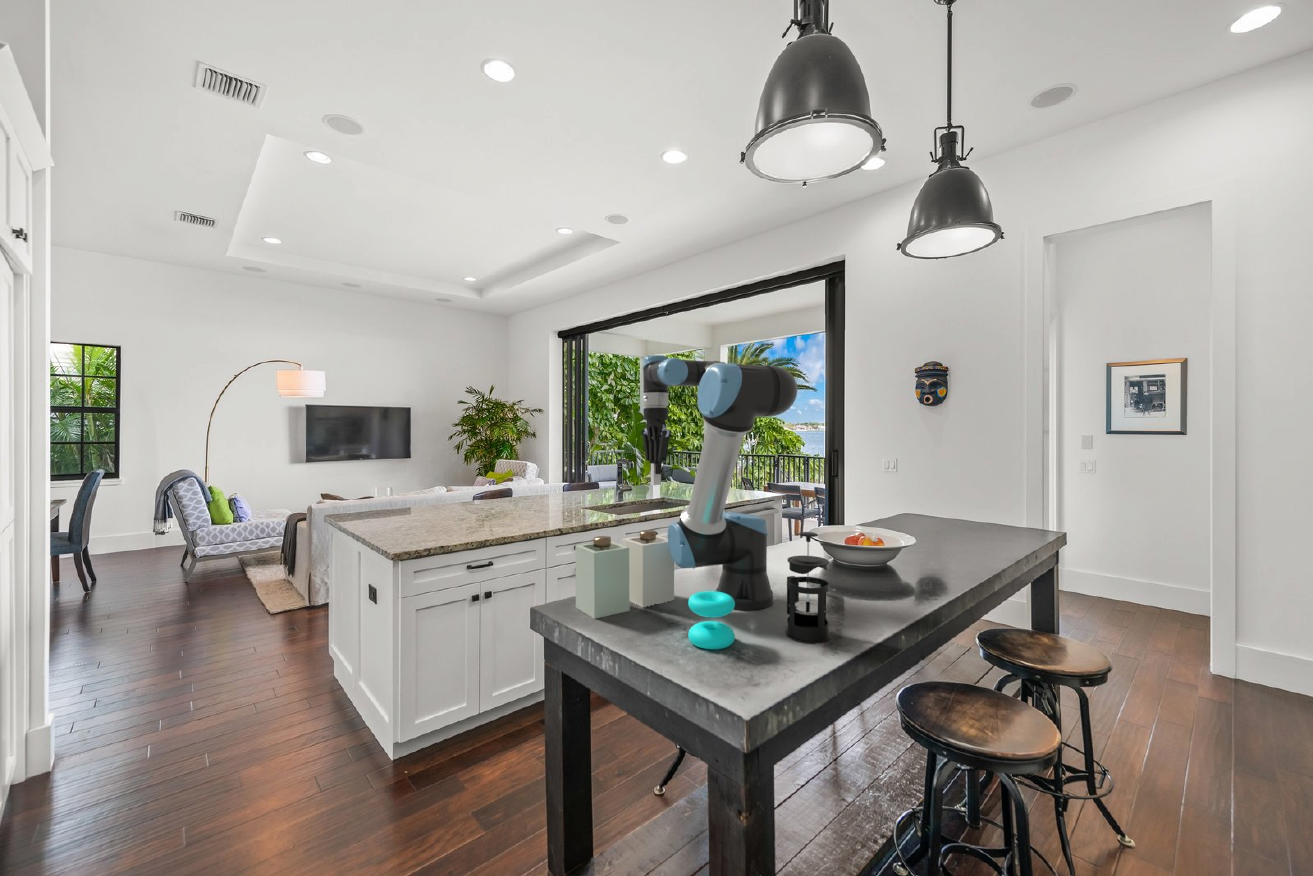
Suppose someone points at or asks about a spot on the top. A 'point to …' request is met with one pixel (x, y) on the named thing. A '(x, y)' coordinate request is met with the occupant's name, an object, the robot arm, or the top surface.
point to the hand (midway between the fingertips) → (655, 484)
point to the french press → (806, 615)
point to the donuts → (711, 631)
